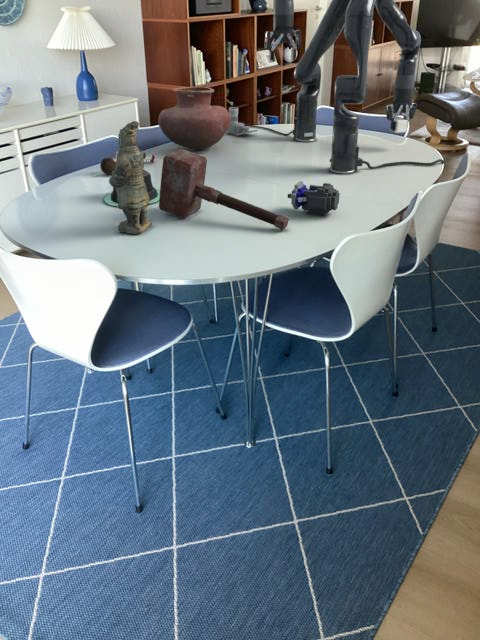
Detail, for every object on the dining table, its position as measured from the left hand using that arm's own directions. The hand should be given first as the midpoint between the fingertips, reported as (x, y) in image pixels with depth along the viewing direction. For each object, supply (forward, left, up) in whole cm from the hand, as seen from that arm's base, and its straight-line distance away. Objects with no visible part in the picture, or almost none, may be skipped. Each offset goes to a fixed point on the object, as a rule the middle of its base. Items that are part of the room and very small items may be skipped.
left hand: (398, 130), depth 231 cm
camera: (-75, -10, -8) cm, 76 cm away
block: (0, 0, 0) cm, 0 cm away
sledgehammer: (-9, -107, -8) cm, 108 cm away
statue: (-27, -127, -8) cm, 130 cm away
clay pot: (-75, -43, -8) cm, 86 cm away
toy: (+9, -87, -8) cm, 88 cm away
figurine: (-77, -82, -8) cm, 113 cm away
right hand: (-37, -32, +28) cm, 56 cm away
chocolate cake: (-48, -106, -8) cm, 117 cm away
